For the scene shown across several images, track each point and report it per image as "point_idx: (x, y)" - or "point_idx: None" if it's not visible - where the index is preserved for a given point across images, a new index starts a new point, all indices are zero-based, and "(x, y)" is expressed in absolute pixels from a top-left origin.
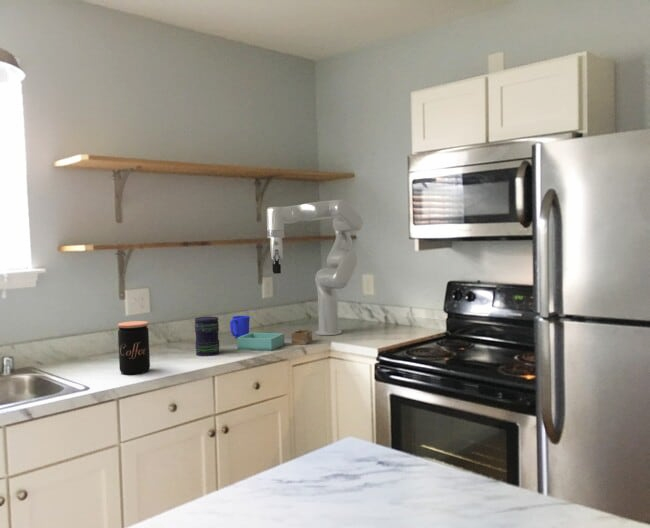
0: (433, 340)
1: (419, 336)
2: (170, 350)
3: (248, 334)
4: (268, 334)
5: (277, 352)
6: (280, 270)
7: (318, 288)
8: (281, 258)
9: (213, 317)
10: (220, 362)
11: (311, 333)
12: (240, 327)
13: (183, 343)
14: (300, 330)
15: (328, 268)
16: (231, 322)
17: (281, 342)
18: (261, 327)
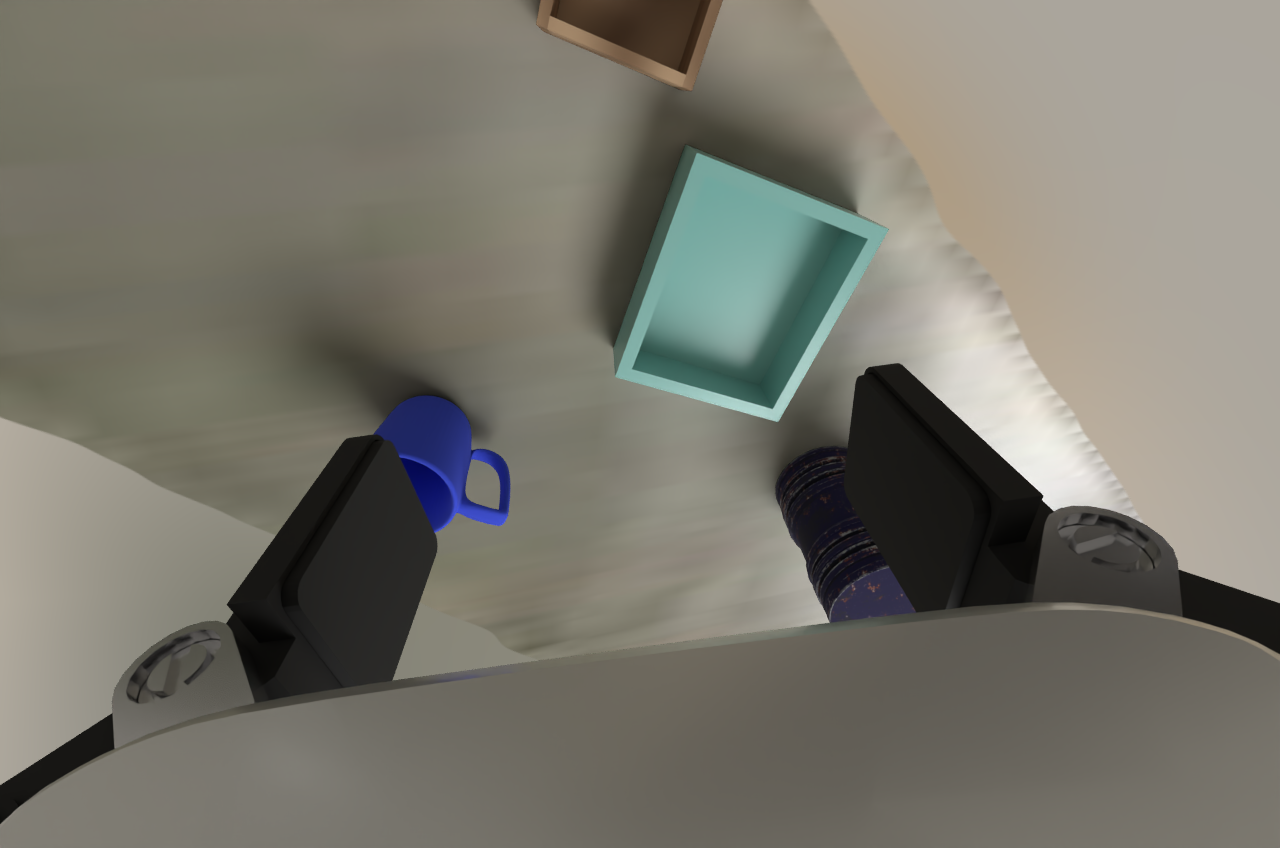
0: None
1: None
2: (714, 603)
3: (680, 382)
4: (669, 267)
5: (912, 171)
6: (928, 395)
7: None
8: (245, 733)
9: (863, 586)
10: (1016, 409)
11: None
12: (464, 457)
13: (579, 600)
14: (551, 6)
15: None
16: (507, 514)
17: (733, 164)
18: (36, 368)
